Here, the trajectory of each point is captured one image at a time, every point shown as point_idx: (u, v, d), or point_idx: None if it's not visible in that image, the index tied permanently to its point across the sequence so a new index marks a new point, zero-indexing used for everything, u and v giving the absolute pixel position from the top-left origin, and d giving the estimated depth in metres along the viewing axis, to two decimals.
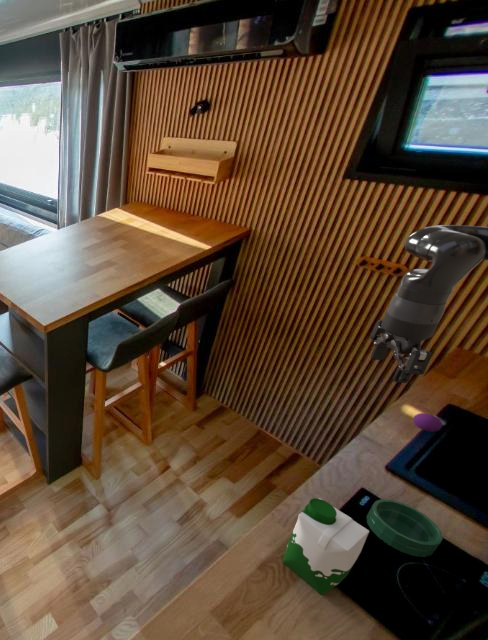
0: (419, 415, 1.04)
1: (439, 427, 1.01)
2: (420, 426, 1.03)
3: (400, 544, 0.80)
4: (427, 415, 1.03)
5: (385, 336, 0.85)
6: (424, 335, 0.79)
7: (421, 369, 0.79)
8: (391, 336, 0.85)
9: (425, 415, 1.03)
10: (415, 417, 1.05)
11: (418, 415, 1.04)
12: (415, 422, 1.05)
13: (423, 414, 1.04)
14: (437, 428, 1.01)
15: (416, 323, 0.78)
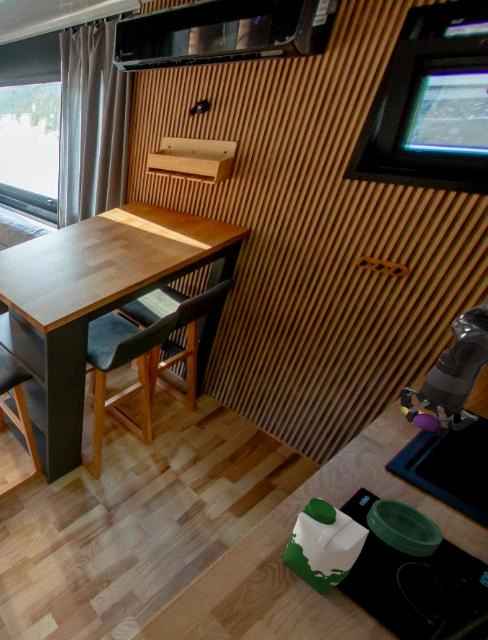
0: (419, 415, 1.04)
1: None
2: (420, 426, 1.03)
3: (400, 544, 0.80)
4: (427, 415, 1.03)
5: (426, 402, 1.01)
6: None
7: None
8: (431, 401, 1.01)
9: (425, 415, 1.03)
10: (415, 417, 1.05)
11: (418, 415, 1.04)
12: (415, 422, 1.05)
13: (423, 414, 1.04)
14: (437, 428, 1.01)
15: (466, 394, 0.94)
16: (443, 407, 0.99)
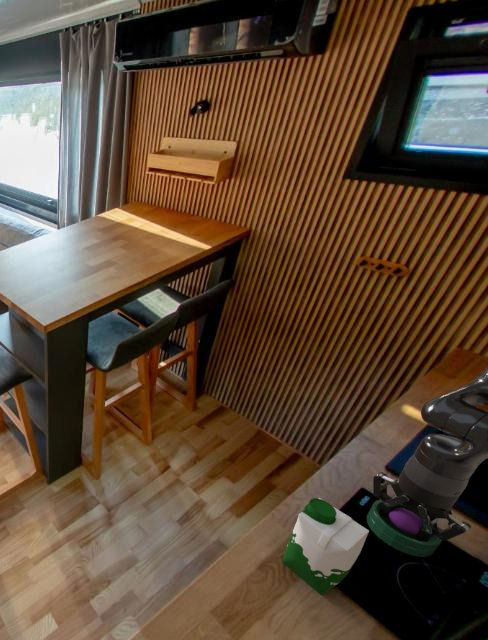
0: (396, 511, 0.82)
1: None
2: (397, 526, 0.81)
3: (400, 544, 0.80)
4: (406, 513, 0.81)
5: (404, 498, 0.79)
6: None
7: None
8: (410, 498, 0.78)
9: (403, 512, 0.81)
10: (391, 513, 0.82)
11: (395, 511, 0.82)
12: (391, 520, 0.82)
13: (401, 510, 0.81)
14: (418, 531, 0.79)
15: (455, 496, 0.72)
16: (425, 508, 0.76)
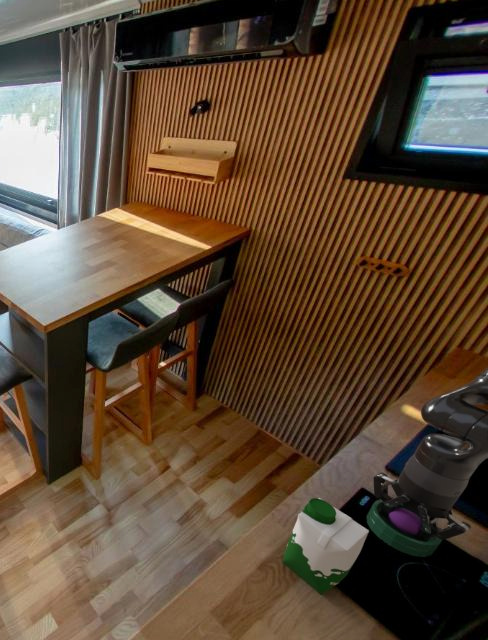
0: (396, 511, 0.82)
1: None
2: (397, 526, 0.81)
3: (400, 544, 0.80)
4: (406, 513, 0.81)
5: (404, 498, 0.79)
6: None
7: None
8: (410, 498, 0.78)
9: (403, 512, 0.81)
10: (391, 513, 0.82)
11: (395, 511, 0.82)
12: (391, 520, 0.82)
13: (401, 510, 0.81)
14: None
15: (455, 496, 0.72)
16: (425, 508, 0.76)
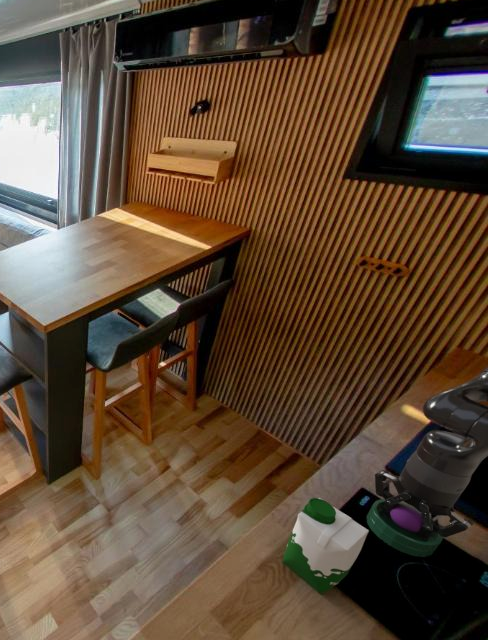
0: (397, 509, 0.81)
1: None
2: (398, 524, 0.81)
3: (400, 544, 0.80)
4: (407, 510, 0.80)
5: (406, 495, 0.79)
6: None
7: None
8: (412, 495, 0.78)
9: (405, 510, 0.81)
10: (392, 511, 0.82)
11: (396, 508, 0.82)
12: (392, 517, 0.82)
13: (402, 508, 0.81)
14: None
15: (457, 493, 0.71)
16: (427, 505, 0.76)
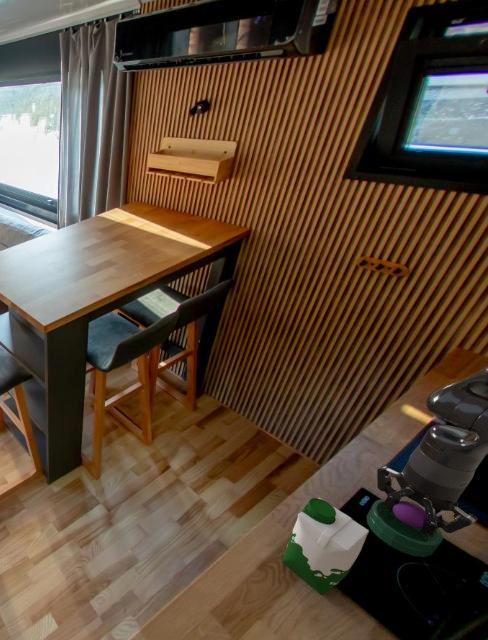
0: (400, 504, 0.81)
1: None
2: (401, 519, 0.80)
3: (400, 544, 0.80)
4: (410, 505, 0.80)
5: (409, 491, 0.78)
6: None
7: None
8: (415, 490, 0.77)
9: (408, 505, 0.80)
10: (395, 506, 0.81)
11: (399, 504, 0.81)
12: (395, 513, 0.81)
13: (405, 503, 0.80)
14: (423, 524, 0.78)
15: (461, 488, 0.71)
16: (431, 500, 0.75)
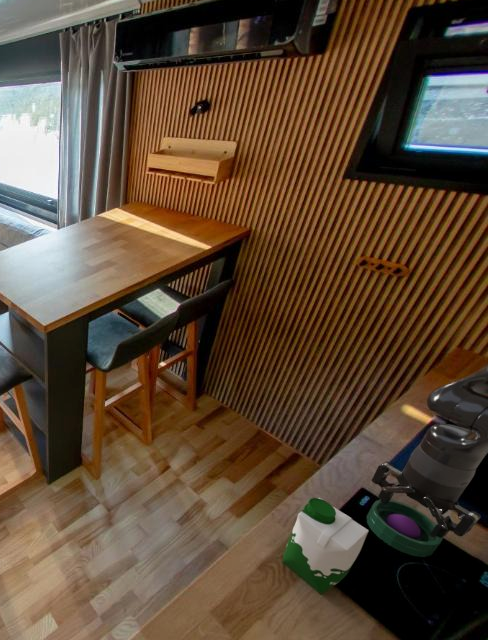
0: (393, 517, 0.83)
1: (417, 536, 0.80)
2: None
3: (400, 544, 0.80)
4: (402, 518, 0.82)
5: (409, 490, 0.78)
6: (461, 493, 0.72)
7: None
8: (415, 489, 0.77)
9: (400, 518, 0.82)
10: (388, 519, 0.83)
11: (392, 517, 0.83)
12: (388, 525, 0.83)
13: (398, 516, 0.82)
14: (415, 537, 0.80)
15: (461, 487, 0.71)
16: (431, 499, 0.75)
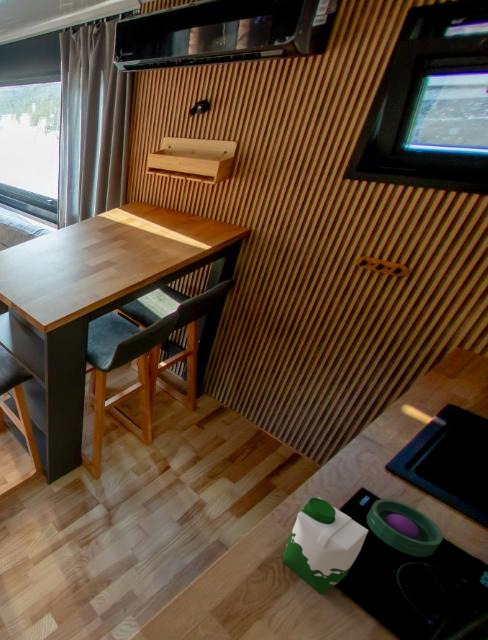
0: (390, 518, 0.83)
1: (415, 536, 0.80)
2: None
3: (400, 544, 0.80)
4: (399, 519, 0.82)
5: None
6: None
7: None
8: None
9: (397, 519, 0.82)
10: (386, 519, 0.84)
11: (389, 517, 0.83)
12: None
13: (395, 516, 0.82)
14: (413, 537, 0.80)
15: None
16: None
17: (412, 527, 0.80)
